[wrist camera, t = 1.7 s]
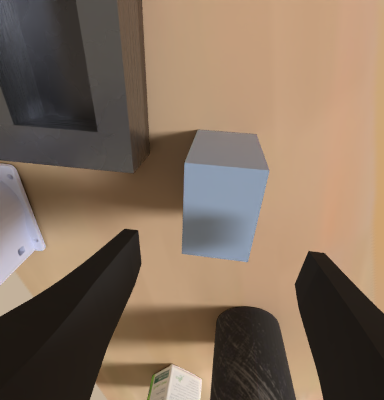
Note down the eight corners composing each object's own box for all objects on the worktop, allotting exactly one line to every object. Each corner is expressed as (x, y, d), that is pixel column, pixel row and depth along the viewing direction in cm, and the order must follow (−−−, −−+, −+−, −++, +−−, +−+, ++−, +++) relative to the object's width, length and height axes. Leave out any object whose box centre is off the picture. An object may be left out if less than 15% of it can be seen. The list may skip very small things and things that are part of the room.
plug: (242, 207, 19) (247, 261, 14) (193, 202, 20) (181, 253, 15) (256, 133, 16) (269, 170, 11) (197, 129, 16) (184, 162, 11)
